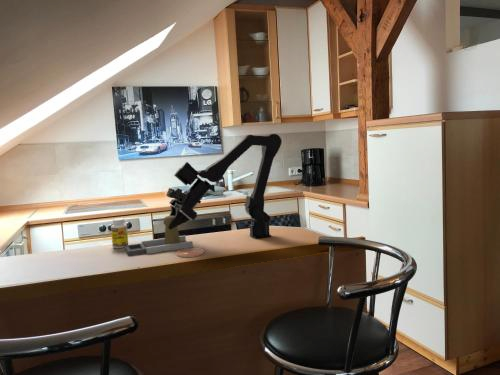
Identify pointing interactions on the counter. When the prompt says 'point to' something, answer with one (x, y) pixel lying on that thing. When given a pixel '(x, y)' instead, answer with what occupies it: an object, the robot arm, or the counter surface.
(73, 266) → the counter surface
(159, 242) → the guide channel
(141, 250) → the trap box
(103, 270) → the counter surface
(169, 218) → the cork
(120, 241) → the supplement bottle
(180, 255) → the coaster
